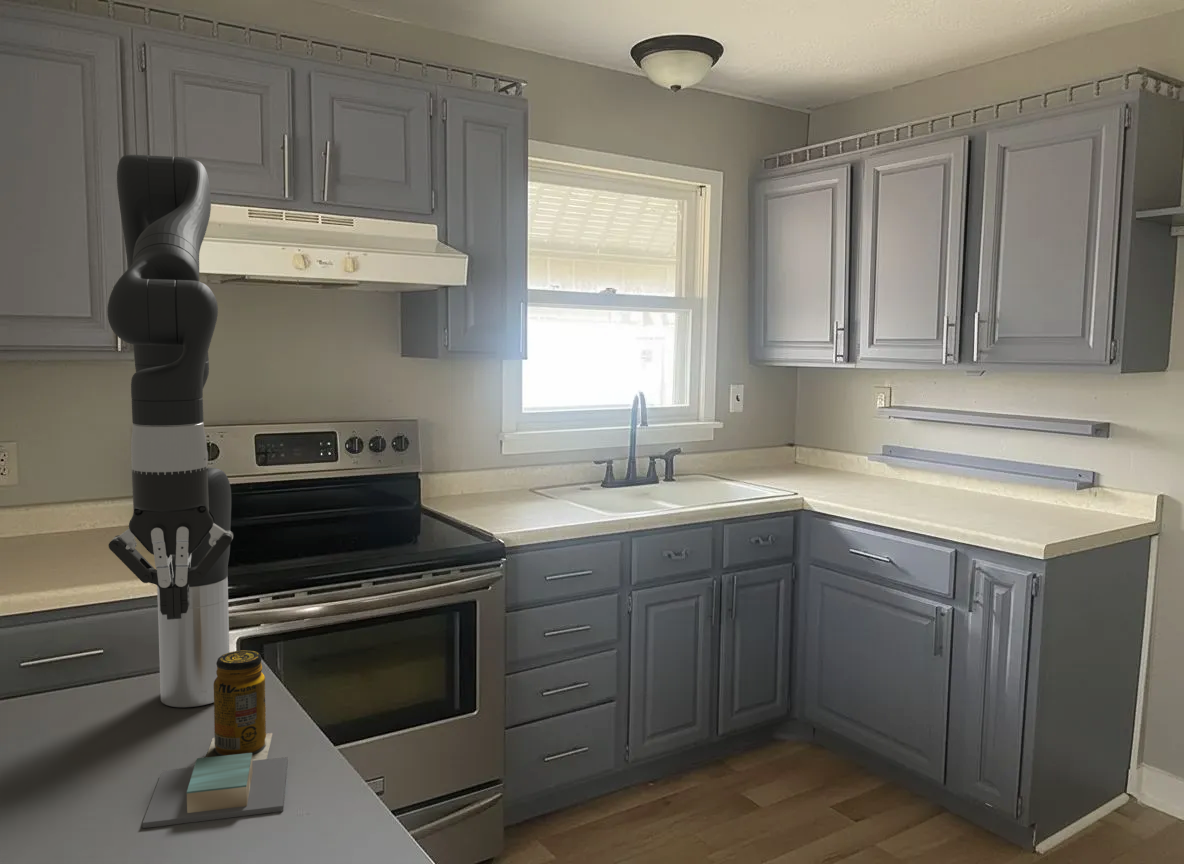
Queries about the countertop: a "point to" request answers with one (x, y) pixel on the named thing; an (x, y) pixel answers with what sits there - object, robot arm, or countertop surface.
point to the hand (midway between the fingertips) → (175, 617)
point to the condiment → (240, 707)
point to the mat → (262, 799)
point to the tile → (220, 782)
